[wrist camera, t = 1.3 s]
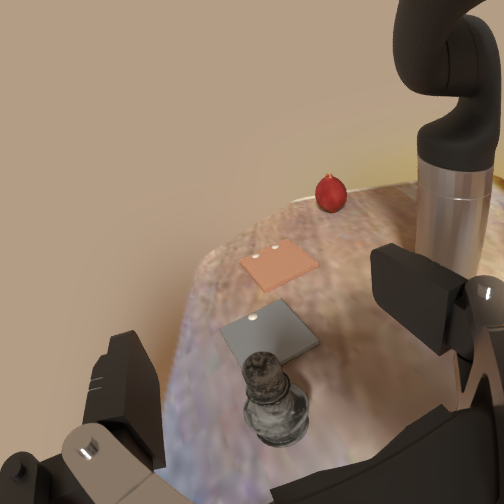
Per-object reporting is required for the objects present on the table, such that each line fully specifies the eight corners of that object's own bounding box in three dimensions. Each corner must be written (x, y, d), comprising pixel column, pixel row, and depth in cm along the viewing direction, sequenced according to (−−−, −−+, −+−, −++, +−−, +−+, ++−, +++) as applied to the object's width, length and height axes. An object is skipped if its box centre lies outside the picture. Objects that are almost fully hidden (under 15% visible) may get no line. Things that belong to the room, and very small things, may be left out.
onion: (314, 209, 61) (308, 170, 57) (341, 202, 61) (337, 164, 57) (323, 222, 56) (318, 181, 52) (353, 215, 56) (349, 174, 52)
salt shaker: (241, 417, 29) (202, 346, 23) (291, 389, 31) (270, 310, 25) (270, 461, 25) (236, 404, 18) (323, 428, 26) (315, 357, 20)
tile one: (281, 301, 42) (280, 298, 42) (319, 343, 35) (319, 340, 35) (220, 332, 40) (218, 328, 40) (249, 381, 33) (248, 378, 33)
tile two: (287, 241, 54) (287, 238, 54) (318, 266, 47) (318, 262, 46) (239, 263, 52) (238, 260, 51) (265, 293, 45) (264, 289, 44)
